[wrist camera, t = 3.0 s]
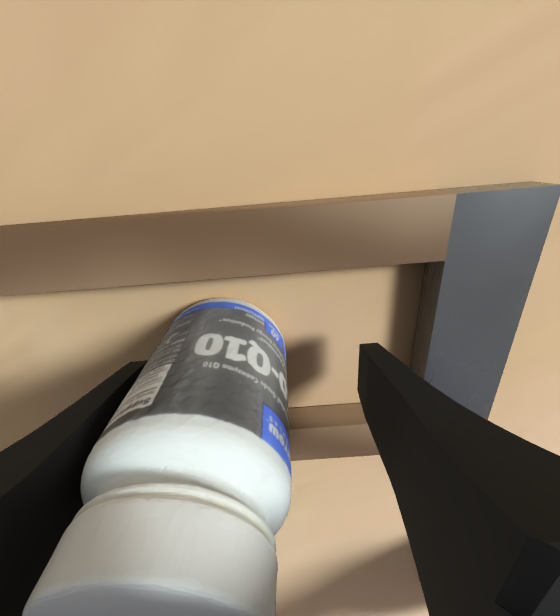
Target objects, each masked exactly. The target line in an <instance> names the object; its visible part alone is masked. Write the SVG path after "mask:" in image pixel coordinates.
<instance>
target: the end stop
mask: <svg viewBox="0 0 560 616" xmlns="http://www.w3.org/2000/svg"><path fill="white" fill-rule="evenodd" d="M437 190H442V191H447V192H452V193H456V194H457V196H456V202H455V207H454V213H453V219H452V224H451V230H450V236H449V241H448V247H447V253H446V258H445V261H435V262H426V266H425V273H424V279H423V286H422V293H421V300H420V307H419V313H418V320H417V327H416V334H415V341H414V347H413V354H412V361H411V368H410V369H411V370H412V371H413V372H415V373H416V374H417V375H419V376H420V377H421V378H423V379H424V380H425V381H427V382H428V383H429V384H431V385H432V386H434V387H435V388H437V389H438V390H439V391H441V392H442V393H444V394H445V395H447V396H448V397H450V398H451V399H453V400H454V401H456V402H458V403H459V404H461V405H462V406H464V407H466V408H467V409H469V410H471V411H472V412H474V413H476V414H478V415H479V416H481V417H483V418H484V419H486V420H488V417H489V414H490V411H491V408H492V404H493V401H494V398H495V395H496V392H497V389H498V386H499V383H500V380H501V376H502V373H503V370H504V367H505V364H506V361H507V358H508V355H509V352H510V348H511V345H512V342H513V339H514V336H515V333H516V330H517V327H518V324H519V321H520V317H521V314H522V311H523V308H524V305H525V302H526V299H527V296H528V293H529V289H530V286H531V283H532V280H533V277H534V274H535V271H536V268H537V265H538V262H539V258H540V255H541V252H542V249H543V246H544V243H545V240H546V237H547V234H548V230H549V227H550V224H551V221H552V218H553V215H554V212H555V209H556V206H557V203H558V199H559V196H560V184H551V183H541V182H519V183H507V184H495V185H484V186H472V187H460V188H448V189H437Z"/></svg>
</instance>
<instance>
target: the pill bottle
mask: <svg viewBox="0 0 560 616" xmlns="http://www.w3.org/2000/svg"><path fill="white" fill-rule="evenodd" d="M80 489H81V497H82V502H83V505H84V506H83V507H82V508H81V509H80V510H79V511H78V513H77V514H76V515H75V517H74V519H73V521H72V523H71V524H70V525H69V526H68V527H67V529H66V530H65V532H64V534H63V535H62V537H61V539H60V541H59V543H58V545H57V547H56V549H55V551H54V553H53V555H52V557H51V558H50V560H49V562H48V564H47V566H46V568H45V569H44V571H43V573H42V575H41V577H40V579H39V580H38V582H37V584H36V586H35V588H34V590H33V591H32V593H31V595H30V597H29V599H28V601H27V603H26V605H25V607H24V610H23V613H22V616H276V581H277V570H278V563H277V557H276V543H275V537H274V535H275V534H276V533H277V532H278V530H279V529H280V528H281V526H282V524H283V522H284V521H285V519H286V516H287V514H288V511H289V507H290V501H291V460H290V435H289V416H288V390H287V372H286V350H285V343H284V339H283V336H282V334H281V332H280V330H279V328H278V327H277V325H276V324H275V323H274V321H273V320H272V319H271V318H270V317H269V316H268V315H267V314H266V313H264V312H263V311H262V310H260V309H259V308H257V307H255V306H254V305H252V304H250V303H248V302H245V301H242V300H238V299H230V298H214V299H207V300H204V301H201V302H198V303H196V304H194V305H192V306H190V307H188V308H187V309H186V310H184V311H183V312H182V313H181V314H180V315H179V316H178V317H177V318H176V319H175V320H174V322H173V323H172V325H171V326H170V328H169V329H168V331H167V332H166V334H165V335H164V337H163V339H162V340H161V342H160V343H159V345H158V347H157V348H156V349H155V351H154V352H153V354H152V356H151V357H150V359H149V360H148V362H147V363H146V365H145V366H144V368H143V370H142V371H141V373H140V375H139V376H138V378H137V379H136V381H135V383H134V384H133V386H132V387H131V389H130V390H129V392H128V393H127V395H126V397H125V398H124V400H123V401H122V403H121V404H120V406H119V408H118V409H117V411H116V412H115V414H114V416H113V417H112V419H111V420H110V422H109V423H108V425H107V427H106V428H105V430H104V431H103V433H102V434H101V436H100V437H99V439H98V440H97V442H96V443H95V444H94V447H93V449H92V450H91V452H90V454H89V456H88V458H87V461H86V463H85V466H84V469H83V473H82V477H81V486H80Z"/></svg>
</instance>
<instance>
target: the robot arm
mask: <svg viewBox="0 0 560 616" xmlns="http://www.w3.org/2000/svg"><path fill="white" fill-rule="evenodd" d="M147 362H148V361H136V362H130V363H129V364H127V365H125V366H124V367H122V368H121V369H120V370H118V371H117V372H115V373H114V374H113V375H111V376H110V377H109V378H107V379H106V380H105V381H103V382H102V383H101V384H99V385H98V386H97V387H95V388H94V389H93V390H91V391H90V392H89V393H87V394H86V395H85V396H83V397H82V398H81V399H79V400H78V401H77V402H75V403H74V404H72V405H71V406H70V407H68V408H67V409H65V410H64V411H62V412H61V413H60V414H58V415H57V416H55V417H54V418H52V419H51V420H50V421H48V422H47V423H45V424H44V425H42V426H41V427H39V428H38V429H36V430H35V431H33V432H32V433H30V434H29V435H27V436H26V437H24V438H22V439H21V440H19V441H17V442H16V443H14V444H13V445H11V446H9V447H8V448H6V449H4V450H3V451H1V452H0V616H22V613H23V610H24V607H25V605H26V603H27V601H28V599H29V597H30V595H31V593H32V591H33V590H34V588H35V586H36V584H37V582H38V580H39V579H40V577H41V575H42V573H43V571H44V569H45V568H46V566H47V564H48V562H49V560H50V558H51V557H52V555H53V553H54V551H55V549H56V547H57V545H58V543H59V541H60V539H61V537H62V535H63V534H64V532H65V530H66V529H67V527H68V526H69V525H70V524H71V523H72V521H73V519H74V517H75V515H76V514H77V513H78V511H79V510H80V509H81V508H82V507H83V506H84V505H83V502H82V497H81V489H80V486H81V477H82V473H83V469H84V466H85V463H86V461H87V458H88V456H89V454H90V452H91V450H92V449H93V447H94V444H95V443H96V442H97V440H98V439H99V437H100V436H101V434H102V433H103V431H104V430H105V428H106V427H107V425H108V423H109V422H110V420H111V419H112V417H113V416H114V414H115V412H116V411H117V409H118V408H119V406H120V404H121V403H122V401H123V400H124V398H125V397H126V395H127V393H128V392H129V390H130V389H131V387H132V386H133V384H134V383H135V381H136V379H137V378H138V376H139V375H140V373H141V371H142V370H143V368H144V366H145V365H146V363H147ZM358 394H359V397H360V401H361V405H362V409H363V412H364V416H365V419H366V421H367V424H368V426H369V429H370V431H371V434H372V436H373V439H374V441H375V444H376V446H377V449H378V451H379V454H380V456H381V459H382V461H383V464H384V466H385V469H386V471H387V474H388V476H389V478H390V481H391V484H392V487H393V490H394V492H395V495H396V499H397V502H398V505H399V509H400V512H401V515H402V519H403V522H404V525H405V529H406V532H407V536H408V539H409V543H410V546H411V550H412V553H413V557H414V560H415V564H416V567H417V571H418V575H419V578H420V582H421V586H422V590H423V593H424V597H425V601H426V604H427V608H428V612H429V616H560V456H559V455H556V454H554V453H552V452H550V451H548V450H545V449H543V448H541V447H539V446H537V445H535V444H533V443H530V442H528V441H526V440H524V439H522V438H521V437H519V436H517V435H515V434H513V433H511V432H509V431H507V430H505V429H503V428H501V427H499V426H497V425H495V424H493V423H492V422H490V421H488V420H486V419H484V418H483V417H481V416H479V415H478V414H476V413H474V412H472V411H471V410H469V409H467V408H466V407H464V406H462V405H461V404H459V403H458V402H456V401H454V400H453V399H451V398H450V397H448V396H447V395H445V394H444V393H442V392H441V391H439V390H438V389H437V388H435V387H434V386H432V385H431V384H429V383H428V382H427V381H425V380H424V379H423V378H421V377H420V376H419V375H417V374H416V373H415V372H413V371H412V370H411V369H409V368H408V367H407V366H406V365H404V364H403V363H402V362H401V361H399V360H398V359H397V358H396V357H394V356H393V355H392V354H391V353H390V352H388V351H387V350H386V349H385V348H383V347H382V346H381V345H380V344H378V343H368V344H360V348H359V369H358Z"/></svg>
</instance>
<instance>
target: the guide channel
mask: <svg viewBox="0 0 560 616" xmlns="http://www.w3.org/2000/svg"><path fill="white" fill-rule="evenodd" d="M456 196H457V194H456V193H452V192H447V191H442V190H437V189H436V190H424V191H412V192H400V193H388V194H376V195H364V196H352V197H340V198H328V199H316V200H304V201H292V202H280V203H268V204H256V205H244V206H232V207H220V208H208V209H196V210H184V211H172V212H160V213H148V214H137V215H125V216H113V217H101V218H89V219H77V220H65V221H53V222H41V223H29V224H17V225H5V226H0V296H7V295H20V294H32V293H45V292H57V291H70V290H83V289H95V288H108V287H120V286H133V285H146V284H158V283H171V282H183V281H196V280H209V279H221V278H234V277H246V276H259V275H272V274H284V273H297V272H309V271H322V270H335V269H347V268H360V267H372V266H385V265H397V264H410V263H423V262H435V261H445V258H446V253H447V247H448V241H449V236H450V230H451V224H452V219H453V213H454V207H455V202H456ZM288 416H289V435H290V460H291V461H296V460H311V459H325V458H340V457H355V456H369V455H380V454H379V451H378V449H377V446H376V444H375V441H374V439H373V436H372V434H371V431H370V429H369V426H368V424H367V421H366V419H365V416H364V412H363V409H362V405H361V403H356V404H342V405H328V406H314V407H300V408H288Z"/></svg>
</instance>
